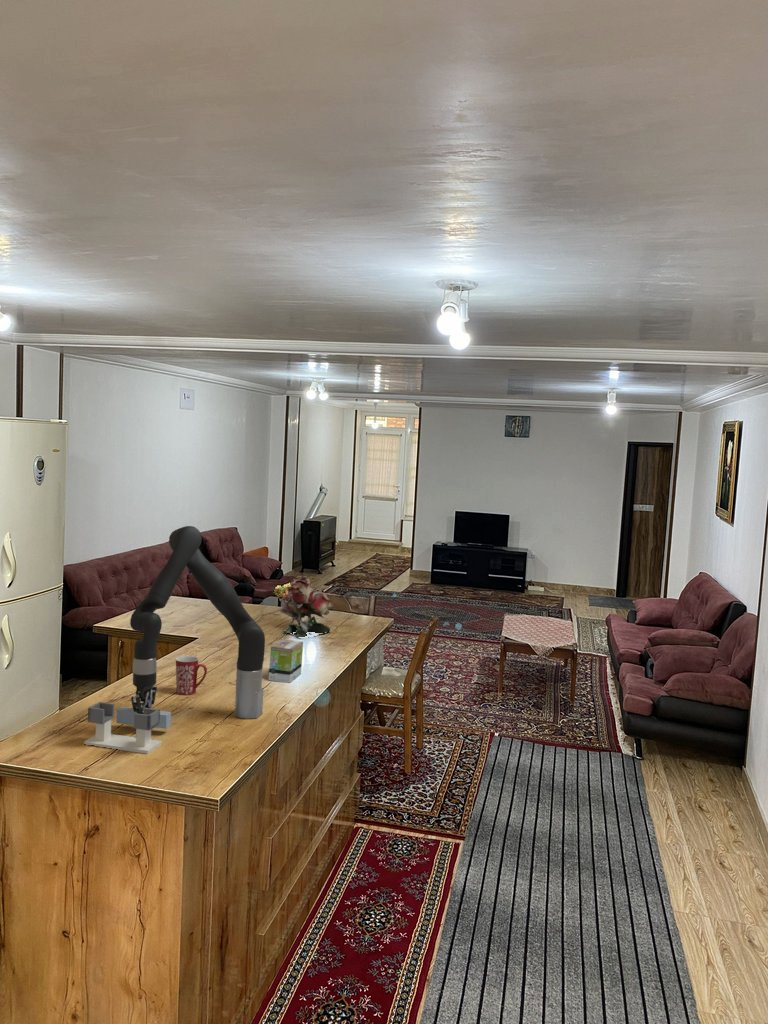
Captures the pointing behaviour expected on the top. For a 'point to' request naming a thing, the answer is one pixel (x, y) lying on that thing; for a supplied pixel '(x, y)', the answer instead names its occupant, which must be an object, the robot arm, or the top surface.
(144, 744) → the stand
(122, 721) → the rail
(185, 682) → the mug
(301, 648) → the tea box
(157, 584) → the robot arm
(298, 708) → the top surface
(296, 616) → the rose bouquet
